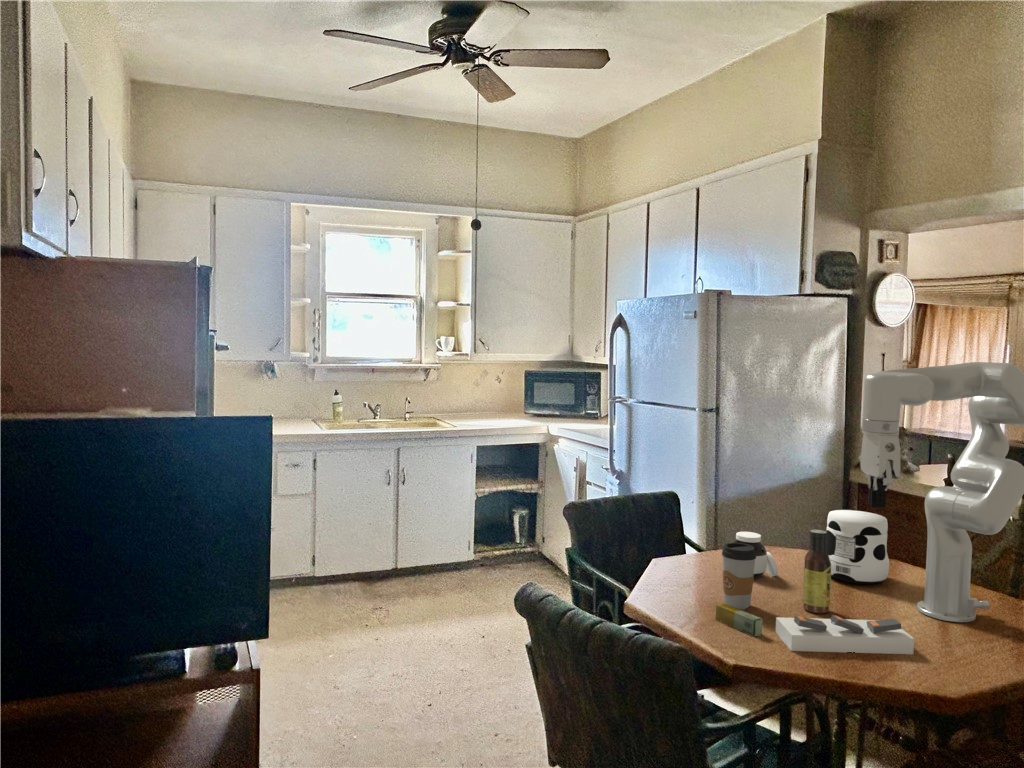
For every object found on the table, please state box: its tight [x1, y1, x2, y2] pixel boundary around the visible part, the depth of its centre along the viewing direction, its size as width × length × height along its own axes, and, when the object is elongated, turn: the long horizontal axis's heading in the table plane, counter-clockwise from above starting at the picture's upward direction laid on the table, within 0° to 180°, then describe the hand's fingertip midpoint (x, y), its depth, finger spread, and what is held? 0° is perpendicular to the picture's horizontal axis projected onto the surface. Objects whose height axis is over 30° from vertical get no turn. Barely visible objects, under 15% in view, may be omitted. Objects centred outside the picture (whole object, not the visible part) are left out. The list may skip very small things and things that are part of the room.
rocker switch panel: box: [775, 617, 915, 655], centre depth 161 cm, size 26×10×4 cm, turn 89°
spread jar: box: [732, 531, 779, 579], centre depth 207 cm, size 12×11×12 cm
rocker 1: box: [793, 615, 827, 631], centre depth 159 cm, size 6×3×1 cm, turn 89°
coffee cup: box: [721, 542, 756, 610], centre depth 183 cm, size 8×8×15 cm
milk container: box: [826, 509, 890, 585], centre depth 206 cm, size 17×17×18 cm
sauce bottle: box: [802, 529, 832, 614], centre depth 180 cm, size 7×6×20 cm
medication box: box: [715, 602, 764, 637], centre depth 169 cm, size 12×3×4 cm, turn 32°
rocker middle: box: [829, 614, 864, 634], centre depth 158 cm, size 6×3×1 cm, turn 89°
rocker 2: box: [867, 617, 903, 633], centre depth 158 cm, size 6×3×1 cm, turn 88°
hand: (876, 506), depth 167 cm, fingers closed
